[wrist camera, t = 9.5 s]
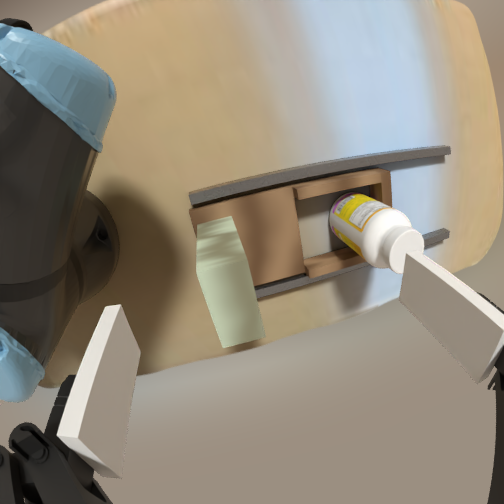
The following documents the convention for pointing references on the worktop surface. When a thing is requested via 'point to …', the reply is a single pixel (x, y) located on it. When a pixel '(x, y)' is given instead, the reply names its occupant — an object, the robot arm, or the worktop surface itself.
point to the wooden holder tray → (265, 247)
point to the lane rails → (310, 171)
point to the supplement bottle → (374, 230)
